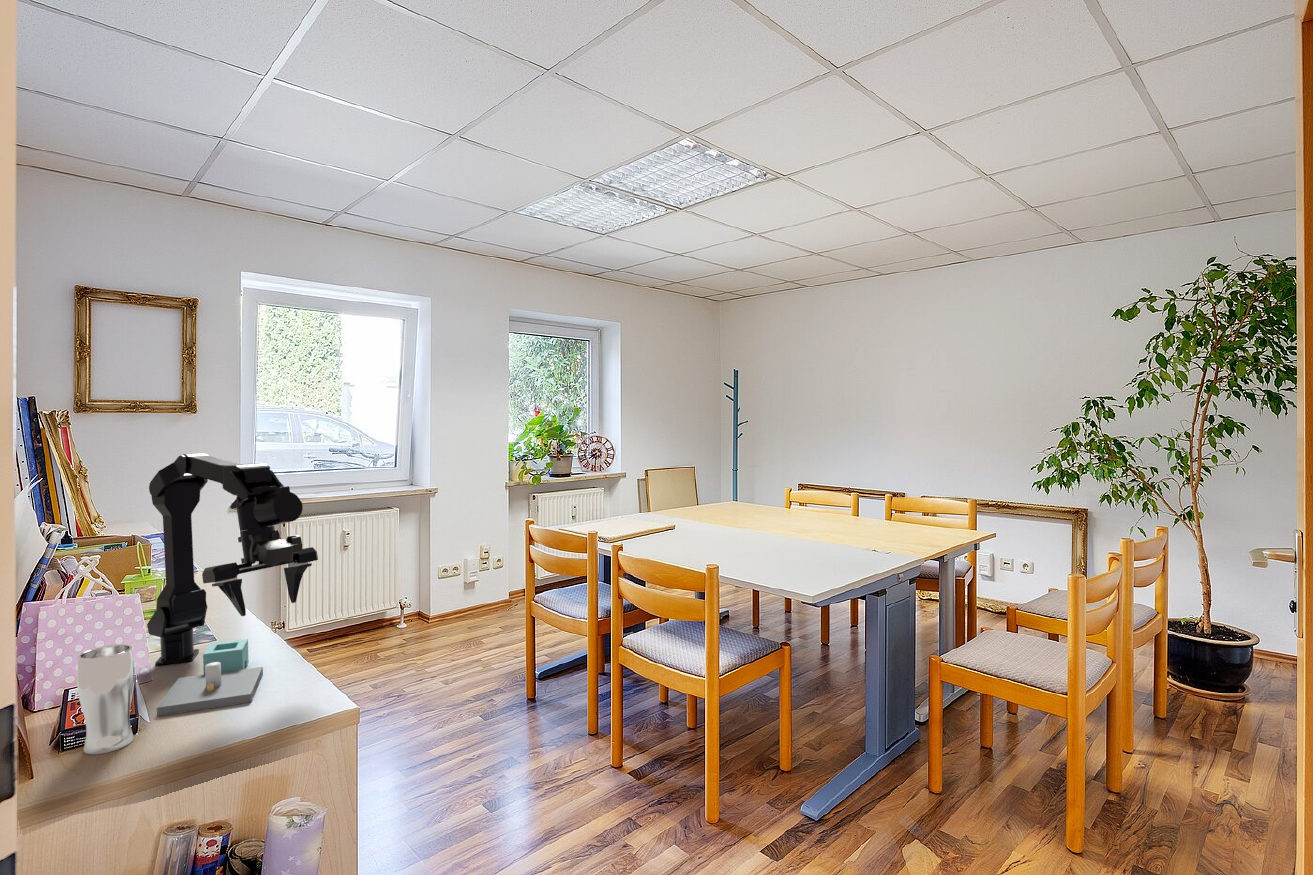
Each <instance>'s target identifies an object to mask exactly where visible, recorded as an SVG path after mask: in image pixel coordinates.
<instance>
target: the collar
mask: <svg viewBox="0 0 1313 875" xmlns="http://www.w3.org/2000/svg"><path fill="white" fill-rule="evenodd" d="M202 658H203V660H202V662H203V666H202V667H203V675H205V665H207V664H209V663H213V662H220V663H221V672H227V671H234V670H242V669H246V667H247V666H248V664H249V639H248V638H246V639H236V640H227V641H220V642H212V643H210V644H209V645H208V646H207V648H206V650H205V651H204V652H203V654H202Z"/></svg>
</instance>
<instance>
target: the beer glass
mask: <svg viewBox="0 0 1313 875" xmlns="http://www.w3.org/2000/svg"><path fill="white" fill-rule="evenodd" d="M134 659H135V658H134V653H133V646H132V645H130V644H127V643H119V644H118V643H117V644H108V645H103V646H99V647H95V648H91V649H88V650H85V651H83V652H81V653H80V654H78V655H77V671H76V673H77V674H76V685H77V694H78V699H79V703H80V707H81V710H82V713H83V717H84V721H85V728H86V734H85V741H84V745H83V752H84V753H85V754H86V755H91V756H92V755H95V756H96V755H103V754H107V753H108V754H109V753H111V752H115V751H117V750H120V749H123V748H124V747H127V746H128V745H130V744H131V743H132V742H133V741H134V733H133V730H132V726H131V723H130V721H131V720H130V714H131V707H132V706H131V705H132V700H133V695H134V690H135V680H136V678H135V677H136V676H135V675H136V672H135V670H136V669H135V661H134Z"/></svg>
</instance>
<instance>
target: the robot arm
mask: <svg viewBox="0 0 1313 875" xmlns="http://www.w3.org/2000/svg"><path fill="white" fill-rule="evenodd" d="M209 481H211V482H212V481H213V482H216V483H219V484H221V485H222V489H223V490H224V491H226V492H228V493H229V494H230V495H232V496H236V498H235V500H234V501H232V503H231V505H230V509H231V510H236V513H237V514H236V515H237V519H238V527H239V531H240V532H239V534H240V536H238V537H237V540H238V543H241V547H242V553H243V554H242V555H243V557H241V558H240V561H241V564H238V563H237V562H230V563H223V564H220V565H219V564H218V565H213V566H209V567H205V568H204V569H203V571H202V574H201V575H202V576H201V577H202V582H203V584H204V585H205V584H211V587H218V588H219V589H220V590H221V591H222V592H223V594H224V595H225V596H226V597H227V599H228V600H229V601H230V602H231V604H232V605H233V607H234V608H235V609H236V611H237V612H238V614H239V615H240V616H241V617H245V616H246V615H247V614H246V612H247V611H246V603H245V600H244V595H243V591H242V590H243V589H242V583H243V578H238V576H239V575H240V574H247V573H251V572H256V571H259V570H265V569H270V568H273V567H274V568H275V567H278V566H284V565H287V567H284V568H283V571H284V575H285V582H286V587H287V588H286V589H287V592H288V597H289V599H290V600H289V601H290V602H291V604H295V603H296V602H297V598H298V594H299V589H300V585H301V581H302V579H303V575H304V573H305V571H307V569H308V568H309V567H311V566H313V563H312V562H316V561H319V556H318V552H317V550H316V549H315V548H314V547H311V546H310V547H304V548H303V540H302V536H301V535H299V534H292V535H288V536H287V538H284V539H283V538H281V536H280V532H279V530H275V526H276V525H281V524H282V525H283V524H286V523H292V522H294V521H296V520H298V519H299V518H300V516H301V515H302V513H303V505H304V504H303V502H302V501H301V499H300V498H299V496H298V495H297V494H295V493H294V492H291V490H290V486H289V485H286V486H285V485H284V484H283V483H282V482H281V481H280V479H279V478H278V477H277V475H276V474H275V473H274V471H273V470H272V469H271V466H270V465H268V464H267V463H236V462H233V461H229V460H225V459H222V458H218V457H214V456H210V455H209V454H207V453H203V452H200V453H183V454H181V455H178V456H177V458H176V459H175V460H174V461H173V462H171V463H170V464H168V465H167V466H164V467H163V468H161V469H160V470H158V471H157V473H156V474H155V475H154V476H153V478H152V479H151V480H150V482H149V485H148V490H149V494H150V497H151V502H152V505H153V506H154V507H155V509H156V510H157V511H158V512H159V513H160V515H161V516H162V526H163V527H162V530H163V547H164V548H163V549H164V550H163V551H164V570H165V571H164V573H165V585H164V587H163V589H162V590H161V591H160V593H159V595H158V597H157V598H156V608H155V609H156V610H154V613H153V614H152V616H151V618H150V619H149V620H148V621H147V623H146V624H147V625H146V627H147V632H148V635H150V636H154V637H158V638H159V639H160V640H159V642H160V657H158V659H157V660H156V661H155V663H154V665H155V666H161V665H170V664H177V663H185V662H191V661H194V659H195V658H196V656H197V655H198V653H199V652H200V649H199V648H194V646H195V645H194V644H195V643H194V640H195V639H194V628H198V627H203V626H204V625H205V622H206V616H207V611H208V604H207V592H206V590H205V589H204V588H201V587H200V586H199V585H198V584H197V583H196V582H195V567H194V564H195V563H194V562H195V561H194V547H193V546H194V545H193V543H194V541H193V526H192V525H193V522H192V514H193V513H194V511H195V509H196V508H197V506H198V504H199V503H200V500H201V491H202V490H203V488H204V487H205V486H206V484H207V483H208V482H209ZM256 562H258V564H256ZM253 564H254V565H253Z"/></svg>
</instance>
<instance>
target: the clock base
mask: <svg viewBox="0 0 1313 875" xmlns="http://www.w3.org/2000/svg"><path fill="white" fill-rule="evenodd" d="M263 675H264V667H263V666H258V667H251V668H245V669H242V670H234V671H227V672H221V663H220V662H213V663H209V664H207V665H205V675H204V674H198V675H191V676H184V677H179V678H177V679H176V681H175V682H174V684H173V685H172V687H171V688H170V689H169V691H168V692H167V693H166V694H165V696H164V697H163V699H162V700H161V701H160V702H159V704H158V705H157V706H156V716H157V717H161V716H167V715H174V714H181V713H186V712H185V711H188V712H193V711H192V710H195V711H200V710H209V709H213V708H221V707H226V706H233V705H239V704H240V705H241V704H245V703H246V704H248V703H252V701H253V699H252V698H254V696H255V694H256V691H257V689H258V687H259V684H260V681H261V680H262V677H263Z"/></svg>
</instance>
